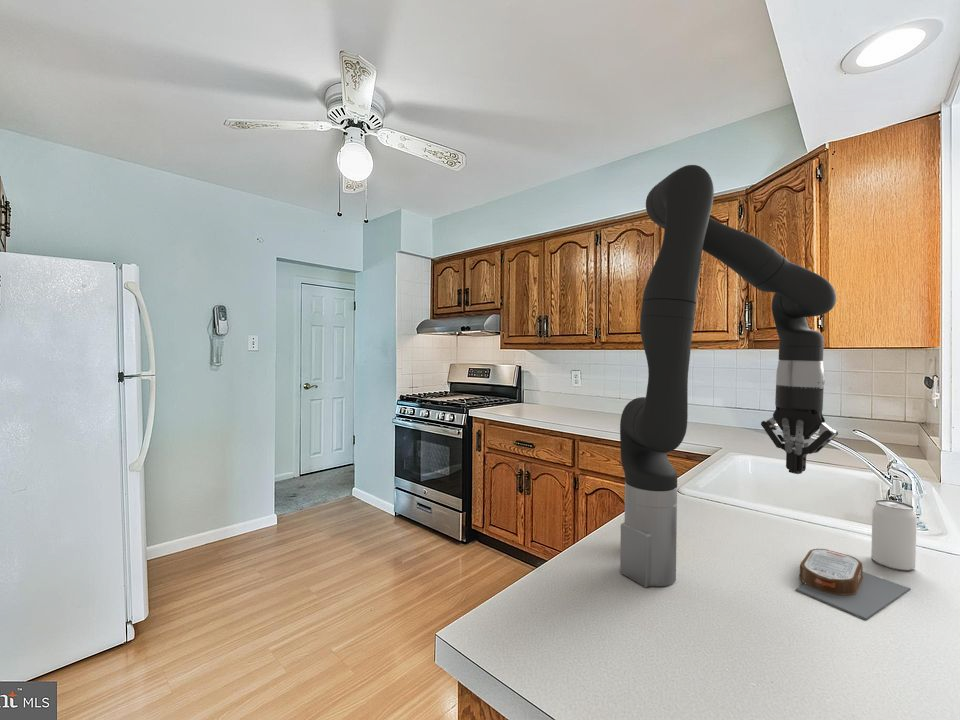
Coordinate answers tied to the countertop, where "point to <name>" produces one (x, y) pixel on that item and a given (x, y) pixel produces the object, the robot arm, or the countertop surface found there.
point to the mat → (861, 596)
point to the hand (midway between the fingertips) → (795, 472)
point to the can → (894, 535)
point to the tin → (831, 572)
